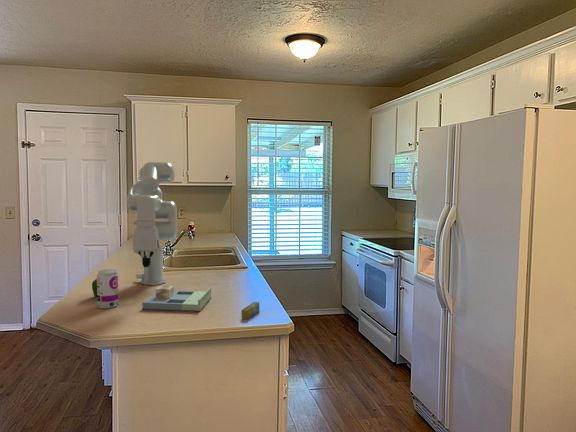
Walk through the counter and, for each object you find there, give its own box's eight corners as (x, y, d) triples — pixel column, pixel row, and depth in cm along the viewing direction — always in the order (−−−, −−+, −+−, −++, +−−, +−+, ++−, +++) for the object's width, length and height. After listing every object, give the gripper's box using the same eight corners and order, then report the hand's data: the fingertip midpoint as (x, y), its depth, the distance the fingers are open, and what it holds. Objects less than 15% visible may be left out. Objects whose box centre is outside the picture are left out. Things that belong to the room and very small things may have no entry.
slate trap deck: (142, 309, 179) (142, 297, 179) (159, 296, 199) (159, 285, 199) (199, 311, 178) (199, 299, 178) (211, 298, 198) (211, 287, 197)
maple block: (155, 298, 186) (155, 289, 185) (160, 294, 192) (160, 285, 191) (169, 298, 185) (169, 289, 185) (173, 294, 191) (173, 285, 191)
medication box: (253, 310, 182) (253, 301, 181) (259, 311, 181) (259, 302, 180) (241, 319, 170) (241, 309, 170) (247, 320, 169) (247, 310, 169)
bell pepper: (87, 298, 194) (87, 276, 193) (101, 293, 202) (101, 272, 201) (102, 300, 191) (101, 278, 190) (116, 295, 199) (115, 274, 198)
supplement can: (122, 304, 186) (122, 270, 184) (108, 310, 178) (108, 274, 177) (107, 302, 188) (106, 268, 187) (93, 307, 181) (92, 272, 179)
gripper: (125, 224, 183) (125, 267, 184) (160, 225, 182) (160, 268, 183) (132, 223, 190) (133, 264, 192) (166, 223, 189) (166, 265, 191)
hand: (146, 266), depth 188 cm, fingers closed
